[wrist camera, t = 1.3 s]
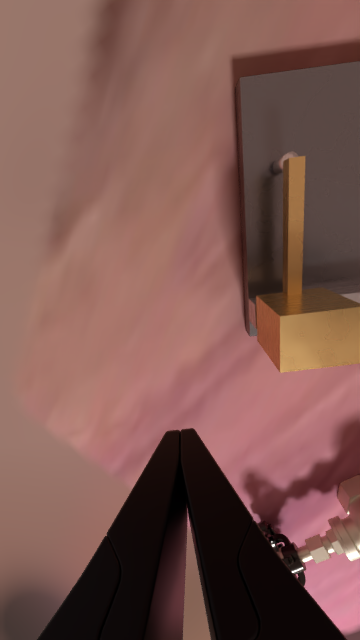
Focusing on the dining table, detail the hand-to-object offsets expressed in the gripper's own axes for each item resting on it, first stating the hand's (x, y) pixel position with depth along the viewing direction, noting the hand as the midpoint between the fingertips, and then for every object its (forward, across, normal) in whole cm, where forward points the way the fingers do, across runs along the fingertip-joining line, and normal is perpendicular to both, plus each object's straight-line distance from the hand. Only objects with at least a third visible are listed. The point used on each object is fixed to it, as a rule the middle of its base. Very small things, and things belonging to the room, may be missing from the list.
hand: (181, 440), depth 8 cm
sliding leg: (+11, -7, -4) cm, 14 cm away
